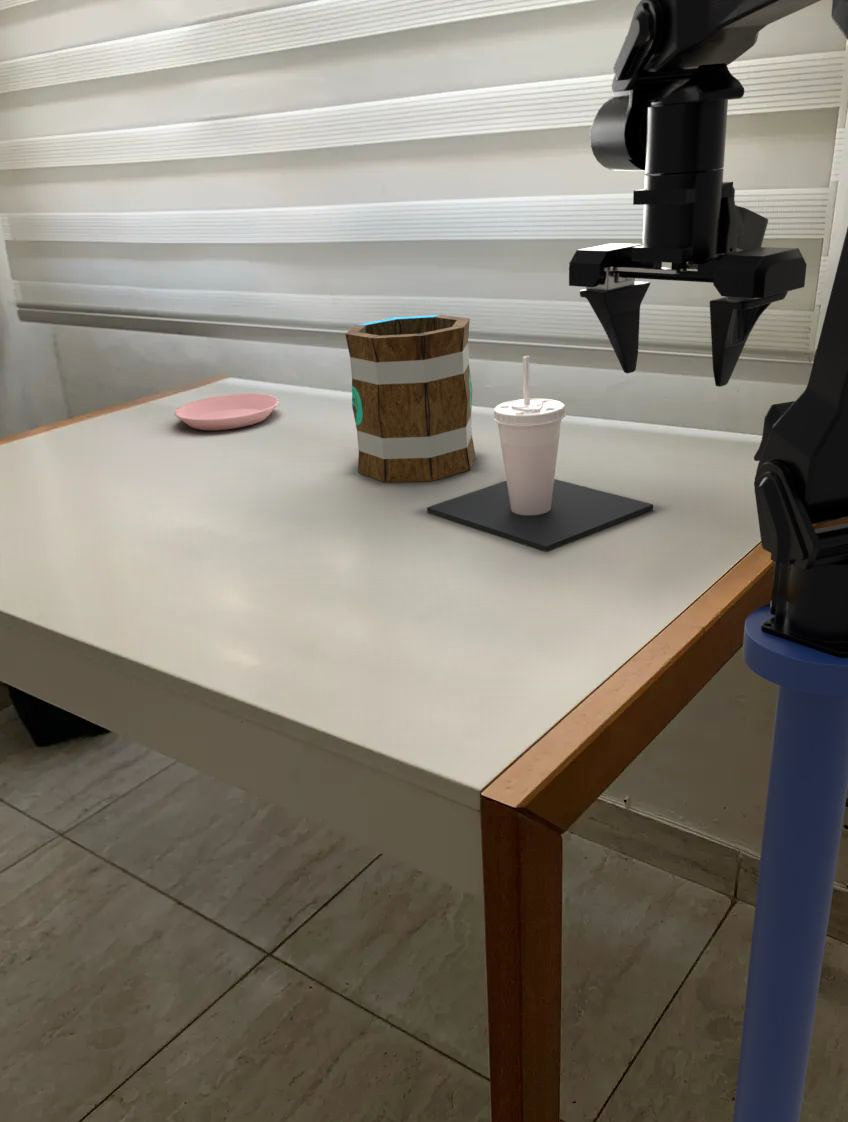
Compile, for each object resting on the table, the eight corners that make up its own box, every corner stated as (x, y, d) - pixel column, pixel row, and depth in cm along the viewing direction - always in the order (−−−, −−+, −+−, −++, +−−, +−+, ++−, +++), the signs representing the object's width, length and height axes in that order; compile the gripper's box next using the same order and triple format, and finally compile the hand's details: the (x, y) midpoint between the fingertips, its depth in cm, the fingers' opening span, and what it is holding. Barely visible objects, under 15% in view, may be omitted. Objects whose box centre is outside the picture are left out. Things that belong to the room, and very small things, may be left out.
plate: (196, 440, 132) (194, 425, 131) (163, 420, 144) (161, 406, 143) (296, 419, 137) (295, 405, 136) (257, 402, 149) (255, 388, 148)
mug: (493, 472, 109) (488, 327, 102) (369, 489, 107) (356, 343, 100) (445, 429, 126) (439, 303, 120) (338, 444, 124) (326, 317, 118)
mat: (653, 509, 94) (653, 504, 94) (546, 551, 87) (546, 546, 87) (529, 477, 106) (529, 472, 106) (426, 512, 99) (426, 507, 99)
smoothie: (550, 494, 99) (549, 347, 93) (576, 514, 93) (576, 359, 87) (487, 503, 98) (482, 356, 92) (509, 524, 93) (505, 368, 86)
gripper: (859, 157, 75) (834, 373, 81) (653, 166, 88) (647, 350, 95) (769, 171, 69) (750, 401, 76) (564, 178, 83) (564, 373, 89)
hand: (673, 378), depth 84 cm, fingers open, 9 cm apart
